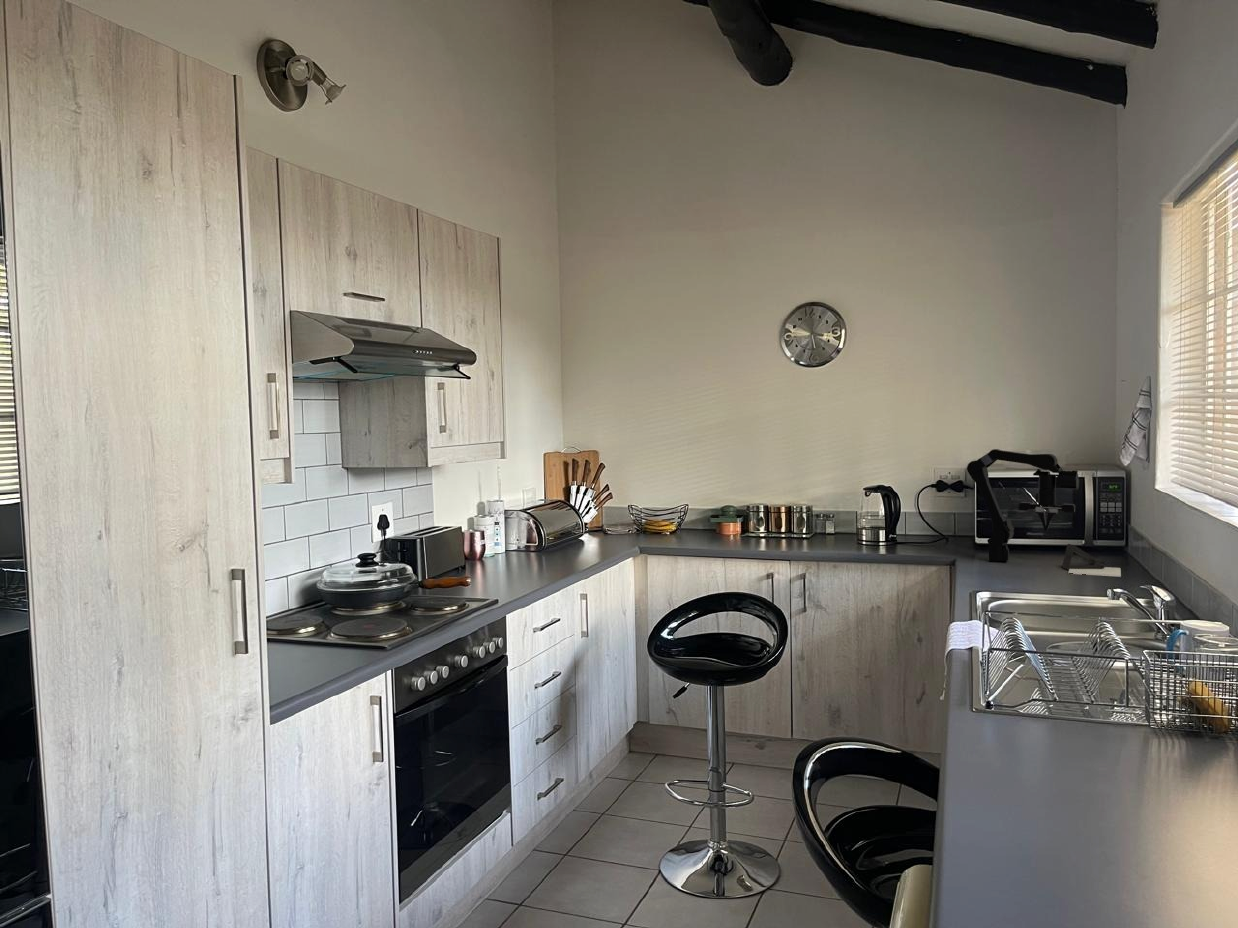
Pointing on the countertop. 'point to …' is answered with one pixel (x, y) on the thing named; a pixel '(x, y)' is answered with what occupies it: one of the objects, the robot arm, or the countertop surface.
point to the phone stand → (1090, 564)
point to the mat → (1098, 571)
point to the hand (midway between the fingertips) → (1046, 530)
